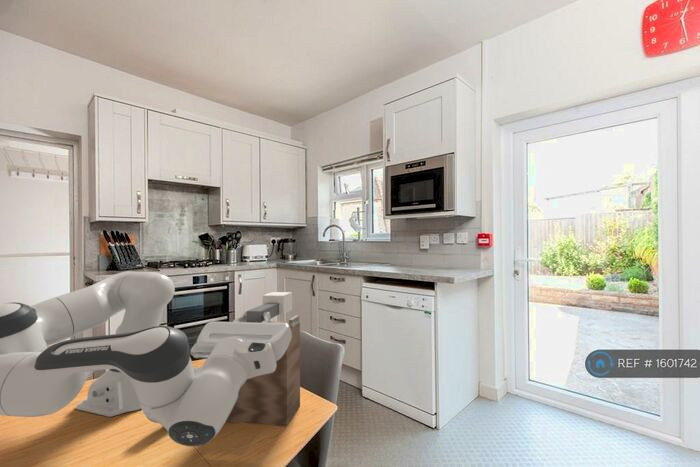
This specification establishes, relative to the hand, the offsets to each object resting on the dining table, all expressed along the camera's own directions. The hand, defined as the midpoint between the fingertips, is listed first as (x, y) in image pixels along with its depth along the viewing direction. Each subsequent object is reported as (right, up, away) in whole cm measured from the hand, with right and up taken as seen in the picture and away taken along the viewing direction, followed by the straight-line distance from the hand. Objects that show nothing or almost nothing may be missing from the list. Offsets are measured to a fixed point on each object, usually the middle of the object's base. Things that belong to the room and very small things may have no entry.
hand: (257, 313), depth 80 cm
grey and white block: (+1, -2, +7) cm, 8 cm away
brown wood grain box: (-2, -30, +11) cm, 32 cm away
